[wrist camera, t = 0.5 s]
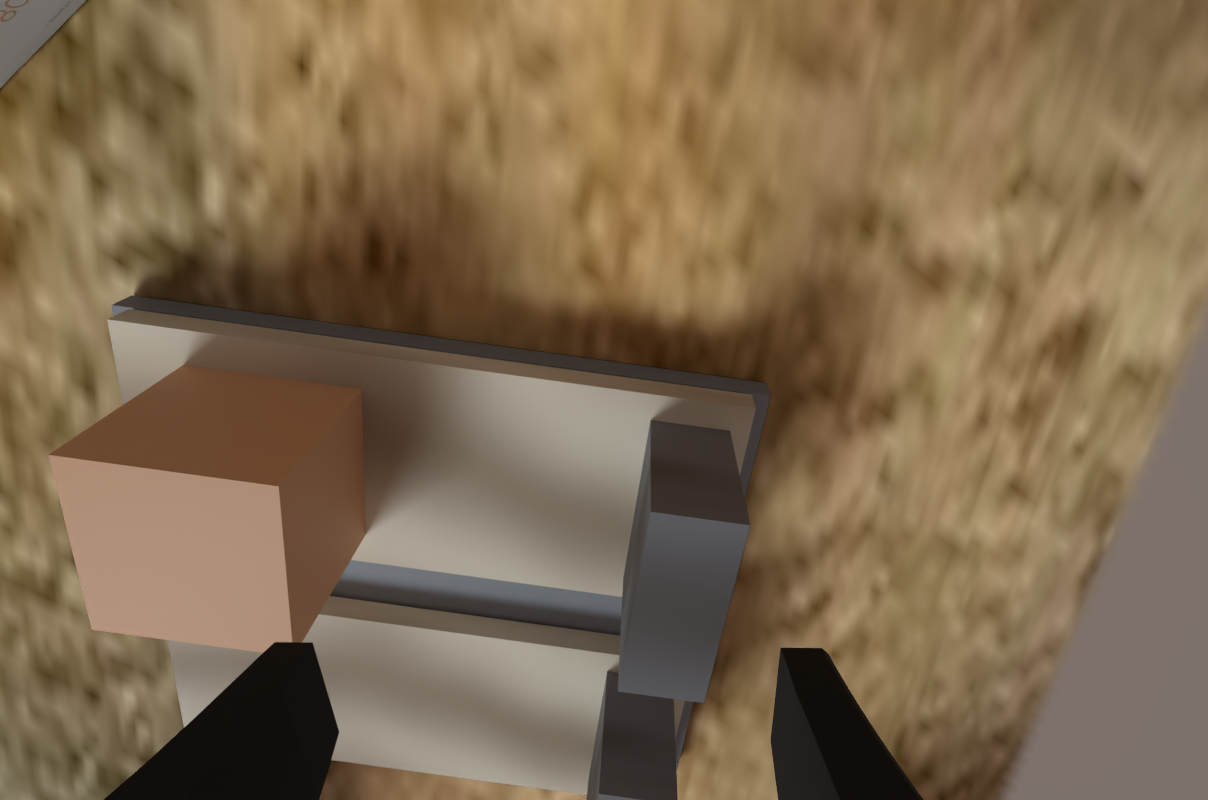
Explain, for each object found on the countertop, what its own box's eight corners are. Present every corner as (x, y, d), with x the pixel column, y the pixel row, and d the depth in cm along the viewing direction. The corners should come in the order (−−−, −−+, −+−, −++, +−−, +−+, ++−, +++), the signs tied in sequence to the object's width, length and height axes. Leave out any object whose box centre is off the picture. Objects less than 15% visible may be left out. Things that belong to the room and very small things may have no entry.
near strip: (705, 589, 21) (719, 727, 17) (164, 515, 21) (39, 634, 17) (751, 394, 18) (783, 500, 14) (128, 309, 18) (-32, 387, 14)
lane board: (672, 762, 26) (673, 782, 25) (200, 697, 26) (187, 716, 25) (766, 382, 19) (770, 395, 18) (131, 295, 19) (111, 304, 18)
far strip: (659, 783, 25) (661, 935, 21) (199, 720, 25) (105, 860, 21) (692, 645, 22) (702, 788, 18) (174, 574, 22) (59, 701, 18)
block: (365, 534, 20) (293, 657, 16) (204, 512, 20) (91, 629, 16) (362, 388, 18) (278, 486, 14) (183, 364, 18) (48, 455, 14)
